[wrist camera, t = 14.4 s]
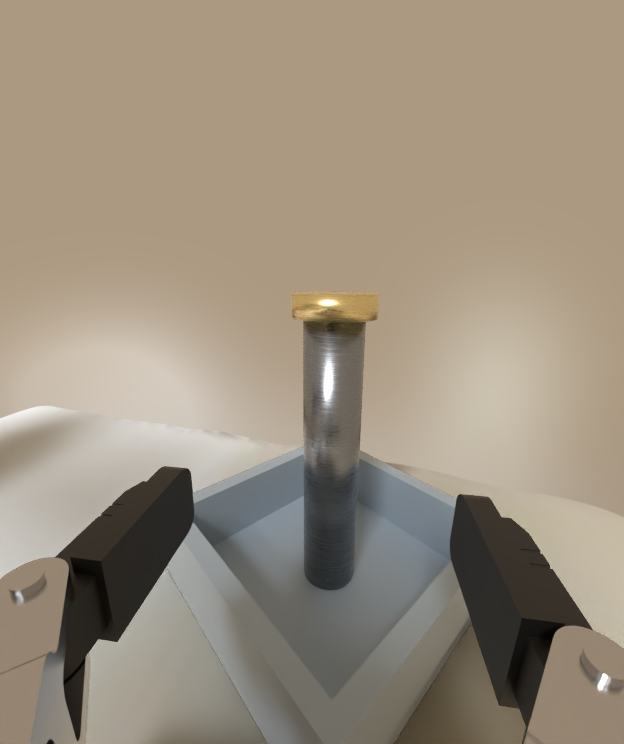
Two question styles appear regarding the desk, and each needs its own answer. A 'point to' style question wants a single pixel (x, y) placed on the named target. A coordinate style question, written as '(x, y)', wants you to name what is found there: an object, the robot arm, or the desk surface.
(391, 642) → the pin tray
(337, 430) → the lock pin
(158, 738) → the desk surface
